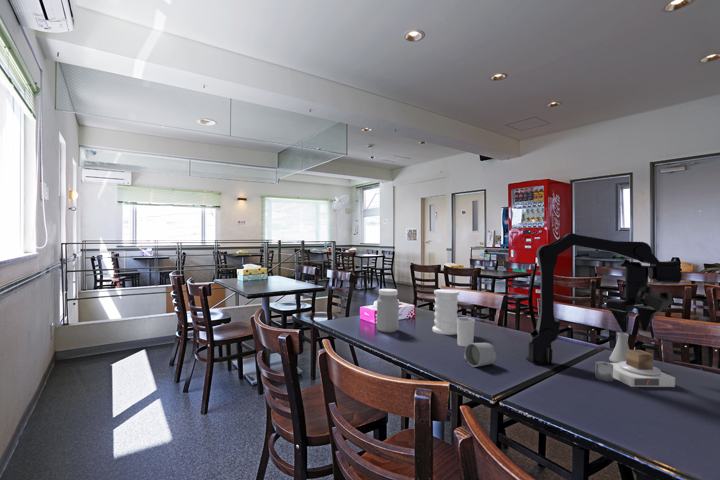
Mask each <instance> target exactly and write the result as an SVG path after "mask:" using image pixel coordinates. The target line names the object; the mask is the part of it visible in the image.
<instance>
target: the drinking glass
mask: <svg viewBox="0 0 720 480" xmlns="http://www.w3.org/2000/svg"><path fill="white" fill-rule="evenodd" d="M475 321H476V320H475V319H474V318H471V317H466V316H463V317H461V316H460V317H457V334H456V335H457V338H456V339H457V345H458V346H459V347H464V348H466V346H467V345H468V344H470V343H474V338H475V337H474V334H475Z"/></svg>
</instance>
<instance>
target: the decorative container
mask: <svg viewBox="0 0 720 480" xmlns="http://www.w3.org/2000/svg"><path fill="white" fill-rule="evenodd" d="M433 294H434V295H435V297H434V301H435V302H434V310H435V311H434V314H433V315H434V320H433V322H434V325H433V326H432V329H431V330H432V332H433V333H436V334H439V335H444V336H445V335H448V336H451V335H452V336H453V335H457V318H458V315H459V314H458V310H459V309H458V308H459V307H458V303H459V299H458V296H459V295H460V291H459V290H456V289H448V288H446V289H445V288H441V289H434V291H433Z"/></svg>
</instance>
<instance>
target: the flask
mask: <svg viewBox="0 0 720 480" xmlns="http://www.w3.org/2000/svg"><path fill="white" fill-rule="evenodd" d="M616 334H617V341H616V343H615V347H614V349H613V350H612V353H611V354H610V356H609V358H608V359H609V361H610V362H611V363H619V362H622V361H626V354H627V350H631V349H630V346H629V341H628V337H629V334H628V333H624V332H622V331H620V332H616Z"/></svg>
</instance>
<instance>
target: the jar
mask: <svg viewBox="0 0 720 480" xmlns="http://www.w3.org/2000/svg"><path fill="white" fill-rule="evenodd" d="M399 311H400V301H399V299H398V289H394V288H380V289H378V298H377V300H376V329H377V330H378V331H379V332H380V333H395V332H397V331H398V329H399V316H400V315H399V314H400V313H399Z"/></svg>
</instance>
